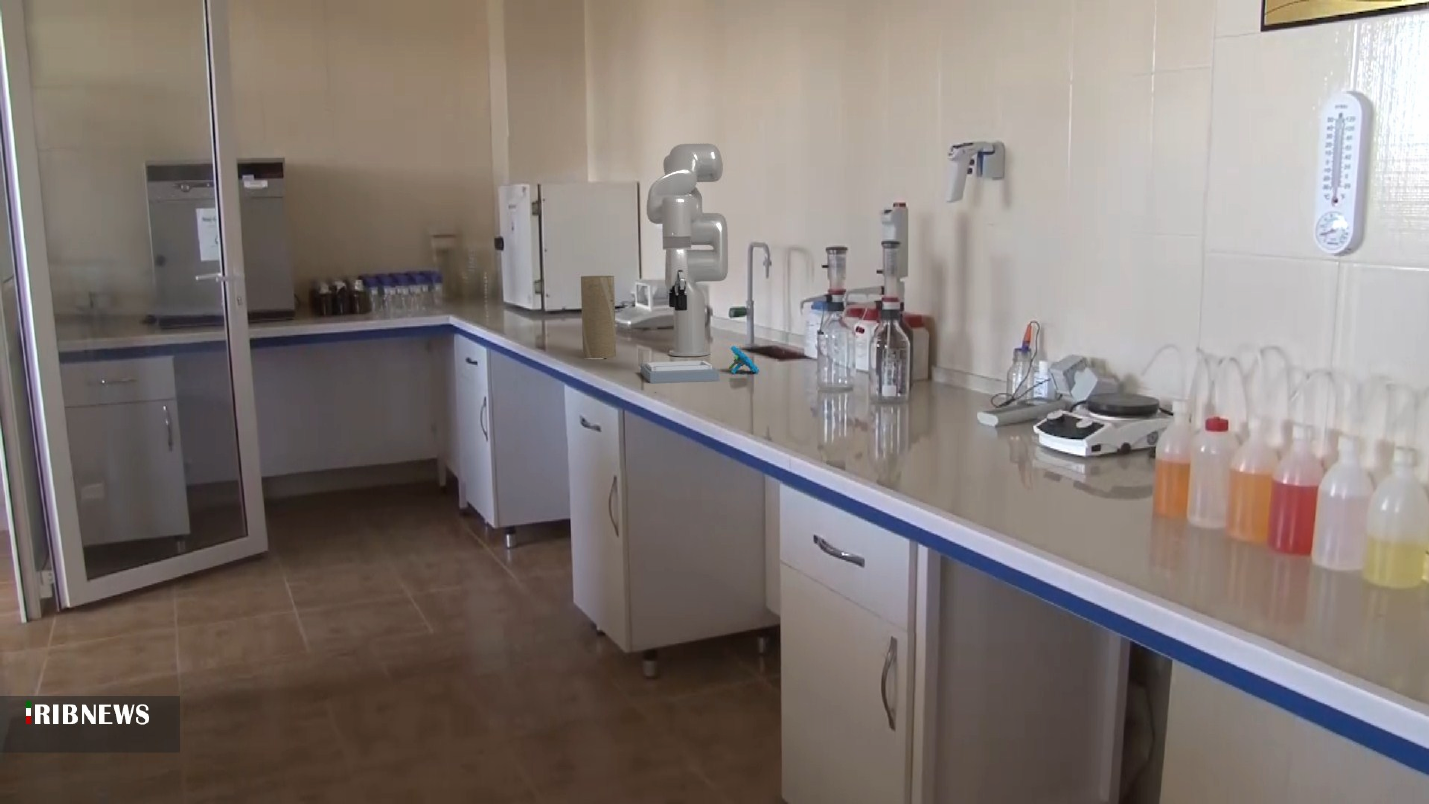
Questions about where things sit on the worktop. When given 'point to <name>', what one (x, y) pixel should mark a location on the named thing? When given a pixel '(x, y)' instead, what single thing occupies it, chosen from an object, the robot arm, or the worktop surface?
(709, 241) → the robot arm
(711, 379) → the plate
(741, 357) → the blue cogwheel with peg
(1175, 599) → the worktop surface
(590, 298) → the tube
